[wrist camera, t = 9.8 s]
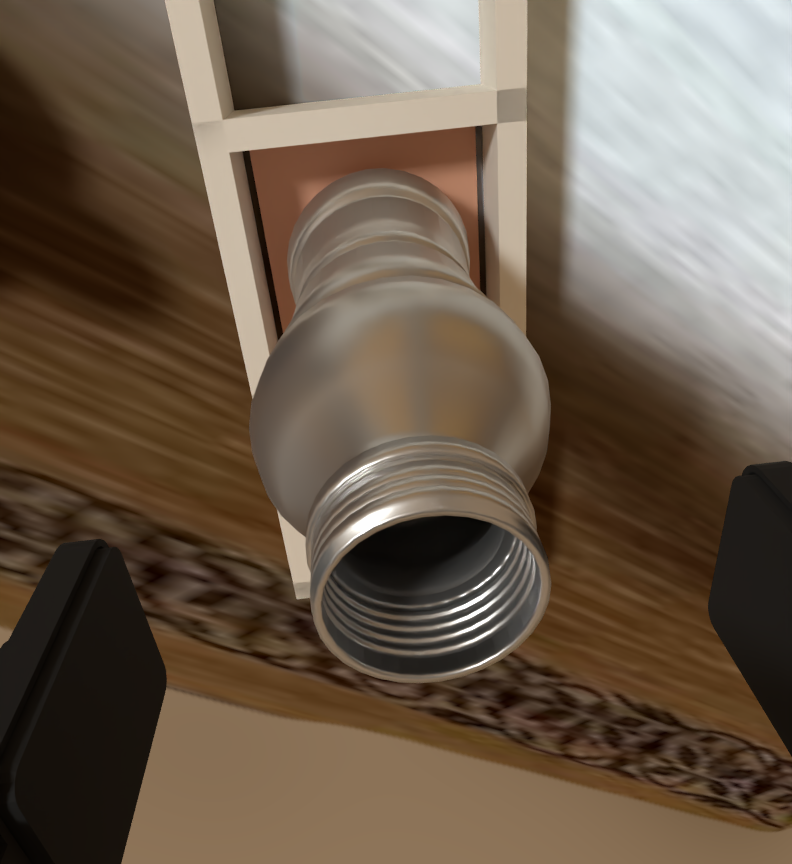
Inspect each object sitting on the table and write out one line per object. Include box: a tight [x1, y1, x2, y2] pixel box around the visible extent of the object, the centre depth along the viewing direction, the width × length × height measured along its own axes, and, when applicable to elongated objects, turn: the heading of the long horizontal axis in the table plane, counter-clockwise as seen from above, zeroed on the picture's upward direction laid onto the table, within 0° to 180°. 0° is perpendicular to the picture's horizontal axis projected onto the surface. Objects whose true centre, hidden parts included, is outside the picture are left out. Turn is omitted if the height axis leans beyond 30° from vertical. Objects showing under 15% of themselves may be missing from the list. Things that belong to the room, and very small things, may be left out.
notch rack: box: [165, 0, 527, 599], centre depth 27 cm, size 31×11×3 cm, turn 5°
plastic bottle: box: [249, 168, 551, 683], centre depth 19 cm, size 6×7×20 cm
